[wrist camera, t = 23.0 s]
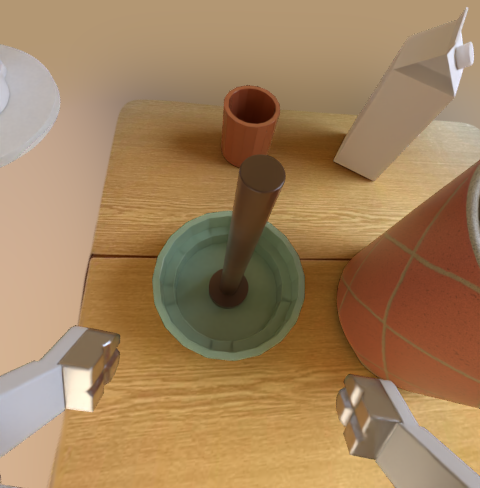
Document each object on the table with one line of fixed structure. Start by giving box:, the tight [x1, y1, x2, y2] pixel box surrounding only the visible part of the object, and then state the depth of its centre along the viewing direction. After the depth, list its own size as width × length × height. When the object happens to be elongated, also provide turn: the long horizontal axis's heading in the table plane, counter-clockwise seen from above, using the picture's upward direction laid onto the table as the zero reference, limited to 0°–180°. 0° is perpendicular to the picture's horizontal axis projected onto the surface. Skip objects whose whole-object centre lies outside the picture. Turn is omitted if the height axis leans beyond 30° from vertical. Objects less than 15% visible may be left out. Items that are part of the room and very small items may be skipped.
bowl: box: [152, 211, 305, 361], centre depth 30 cm, size 15×15×6 cm
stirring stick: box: [209, 154, 286, 309], centre depth 22 cm, size 5×5×22 cm
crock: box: [221, 85, 280, 168], centre depth 38 cm, size 7×7×8 cm
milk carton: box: [333, 8, 474, 181], centre depth 35 cm, size 7×7×19 cm
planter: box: [337, 160, 480, 408], centre depth 25 cm, size 19×19×20 cm
